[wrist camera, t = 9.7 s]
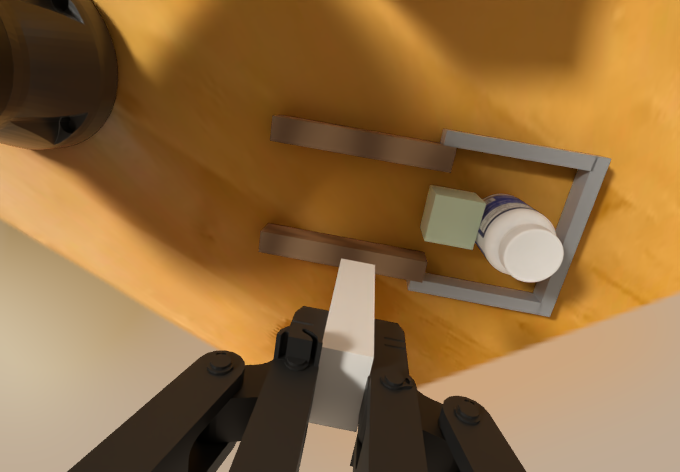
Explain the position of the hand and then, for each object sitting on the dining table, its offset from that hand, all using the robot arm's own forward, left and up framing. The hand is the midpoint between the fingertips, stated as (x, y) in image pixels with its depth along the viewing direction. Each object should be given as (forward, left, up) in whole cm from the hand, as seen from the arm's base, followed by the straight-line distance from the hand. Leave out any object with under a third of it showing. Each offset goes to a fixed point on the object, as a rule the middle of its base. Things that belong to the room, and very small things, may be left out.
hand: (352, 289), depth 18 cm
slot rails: (-1, -1, -20) cm, 20 cm away
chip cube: (+7, 0, -20) cm, 21 cm away
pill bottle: (+12, 0, -20) cm, 23 cm away
